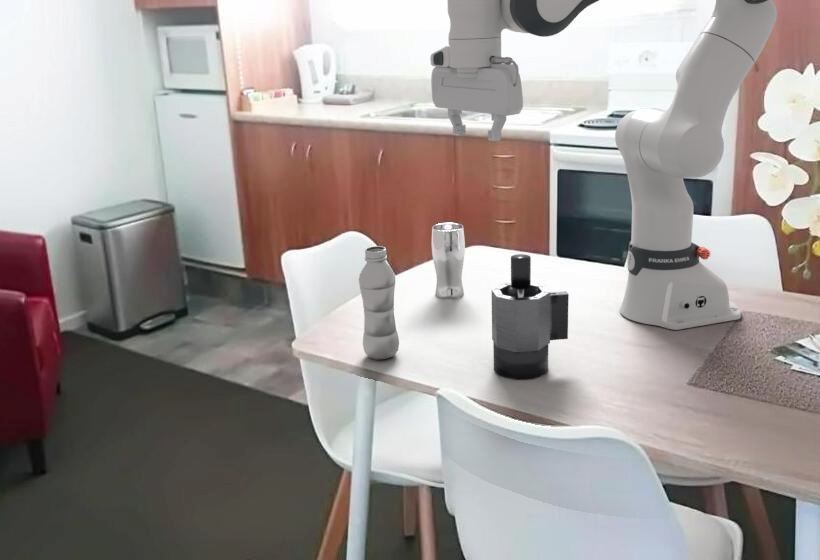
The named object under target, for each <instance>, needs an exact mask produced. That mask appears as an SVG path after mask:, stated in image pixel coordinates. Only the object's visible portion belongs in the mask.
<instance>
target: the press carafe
mask: <svg viewBox="0 0 820 560" xmlns="http://www.w3.org/2000/svg"><path fill="white" fill-rule="evenodd" d="M568 337H569V293H568V291H555V292H554V291H553V292H551V291H550V290H549V289H548V287H547V286H546V285H545V284H540V283H535V282H531V286H530V288H527V289H524V297H522V298H518V289H514V288H512V287H511V281H510V282H502V283H501V284H499V285H497V286H495V287H493V288H491V339H492V342H493V343H492V344H493V345H492V346H493V348H492V349H493V371H494V373H496V375H499V376H500V377H503V378H506V379H510V380H515V381H516V380H517V381H520V380H521V381H527V380H534V379H537V378H541V377H543V376H544V375H546V374H547V373H548V371H549V345H550V343H551V341H557V340H568Z"/></svg>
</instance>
